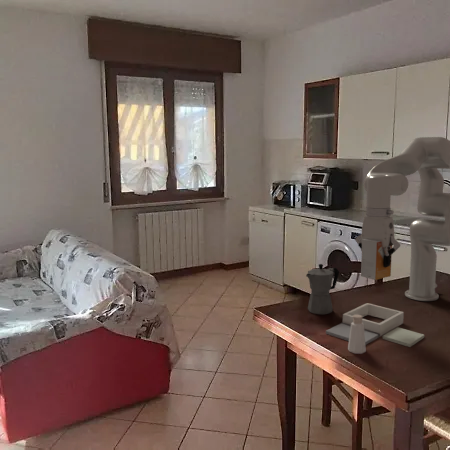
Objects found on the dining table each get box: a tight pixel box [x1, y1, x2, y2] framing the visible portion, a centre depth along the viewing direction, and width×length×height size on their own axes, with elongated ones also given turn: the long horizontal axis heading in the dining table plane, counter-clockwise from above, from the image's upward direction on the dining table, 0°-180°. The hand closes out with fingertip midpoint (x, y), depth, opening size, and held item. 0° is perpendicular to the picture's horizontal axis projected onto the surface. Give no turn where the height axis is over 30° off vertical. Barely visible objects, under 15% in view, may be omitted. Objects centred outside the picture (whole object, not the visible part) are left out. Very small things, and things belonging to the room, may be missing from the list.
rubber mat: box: [382, 326, 425, 348], centre depth 152 cm, size 10×9×1 cm
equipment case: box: [325, 302, 405, 346], centre depth 160 cm, size 26×14×4 cm, turn 133°
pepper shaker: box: [347, 315, 367, 355], centre depth 143 cm, size 5×5×11 cm
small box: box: [360, 239, 393, 281], centre depth 160 cm, size 8×6×13 cm
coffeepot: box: [305, 263, 340, 315], centre depth 178 cm, size 15×9×18 cm, turn 119°
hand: (376, 264), depth 160 cm, fingers closed on small box, 6 cm apart
